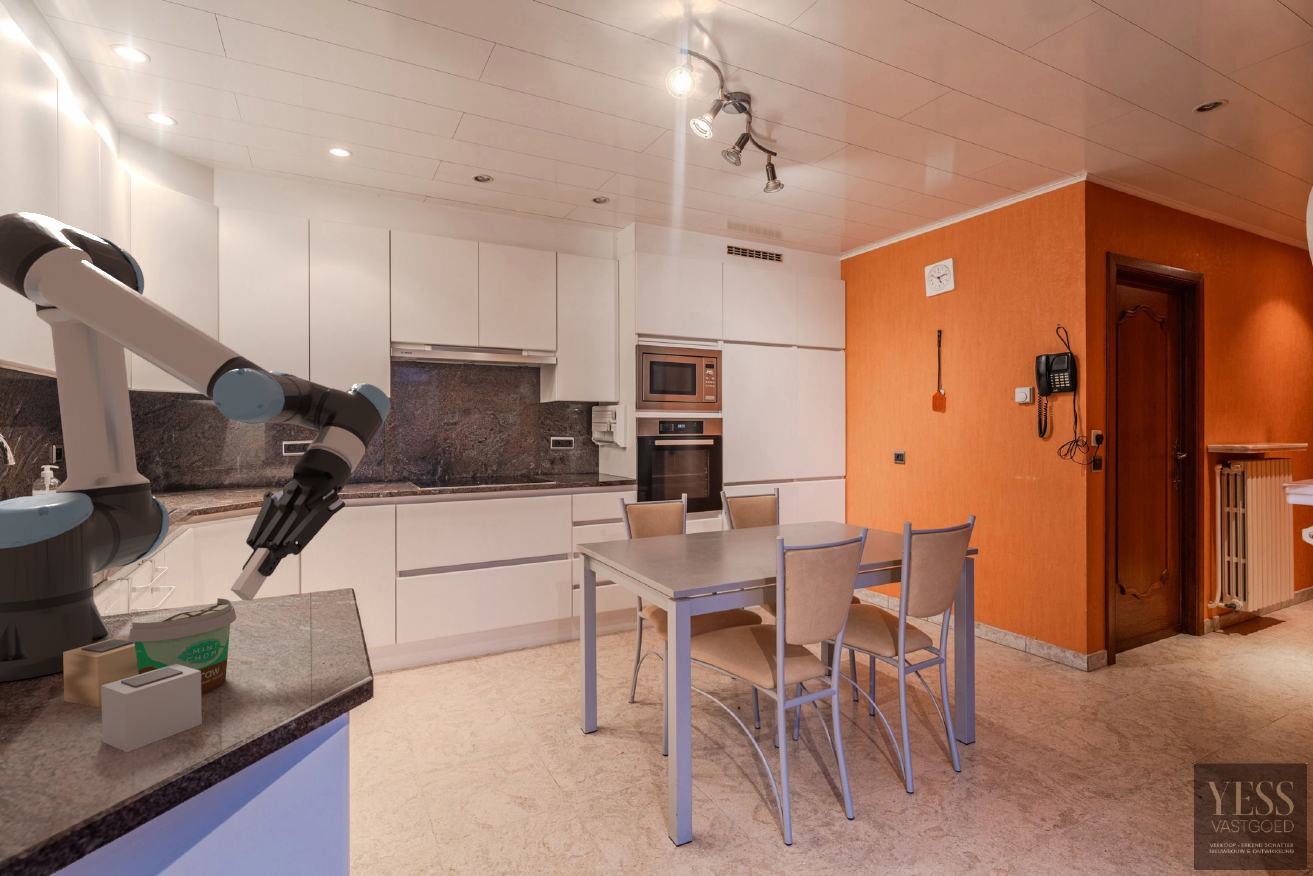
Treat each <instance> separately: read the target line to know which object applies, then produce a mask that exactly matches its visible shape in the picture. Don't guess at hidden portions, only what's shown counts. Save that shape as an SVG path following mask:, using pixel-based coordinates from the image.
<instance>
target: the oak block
mask: <svg viewBox="0 0 1313 876" xmlns="http://www.w3.org/2000/svg"><path fill="white" fill-rule="evenodd" d="M128 639H129V637H120V636H116V637H112V638H110V639H108V640H105V641H101V642H98V643H94V644H91V645H87V646H84V647H80V648H77V649H73V650H69V651H66V652H63V665H64V671H63V698H64V699H63V700H64V702H68V703H74V704H80V705H84V706H85V705H87V706H91V707H98V708H99V707H102V695H101V685H105V684H108V683H112V682H115V681H119V680H122V679H125V678H129V677H132V676H136V675H139V673H138V665H137V658H136V650H135V643H134V642H133V641H128Z"/></svg>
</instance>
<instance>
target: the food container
mask: <svg viewBox="0 0 1313 876" xmlns="http://www.w3.org/2000/svg"><path fill="white" fill-rule="evenodd" d="M236 620H237V614H236V611H235V607H234V605H233V604H232V601H231V600H229V599H227V598H221V597H220V598H217V602H216V605H212V606H209V607H208V608H203V609H200V610H193V611H187V612H186V611H184V612H180V613H177V614H175V615H172V616H170V617H168V618H165V619H164V620H160V621H154V622H132V625H131V627H132V628H130V630H129V636H128V638H129V639H128V641H133V642H134V643H135V650H136V658H137V665H138V673H139V674H143V673H146V672H150V671H153V670H157V669H160V668H163V667H167V666H170V665H174V664H179V665H182V666H186V667H189V668H192V669H196V670H199V671H201V696H204V695H206V694H209V693H211V692H214V691H216V690H218V689H220V688H221V687H222V686H223V685H224V684H225V683H226V681H227V670H228V669H227V668H228V667H227V666H228V657H229V656H228V655H229V644H230V630H231V629H230V628H231V624H232V623H234V622H235V621H236Z"/></svg>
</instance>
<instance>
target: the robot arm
mask: <svg viewBox="0 0 1313 876" xmlns="http://www.w3.org/2000/svg"><path fill="white" fill-rule="evenodd" d="M0 284H1V285H3V286H4V287H6V288H8V289H10V290H11V291H14V292H15V293H17V294H18V295H20V296H22V297H24V298H26V299H27V300H29V301H31V302H32V303H34V305H35V311H36V312H35V313H36V316H37V317H38V318H39V319H40V320H42V321H43V322H45V323H46V324H48V326H50V328H51V329H50V330H51V338H52V347H53V355H54V366H55V373H56V382H57V383H56V384H57V392H58V402H59V412H60V420H61V429H62V440H63V447H64V457H65V458H64V459H65V465H66V467H65V468H66V474H67V475H66V476H67V477H66V479H65V480H64V481H63V483H61V484H60V485H59V486H58V487H57V488H56V489H55V492H54V493H51V492H50V493H41V494H36V495H35V494H34V495H31V496H19V497H14V498H10V499H5V500H1V501H0V683H1V682H11V681H18V680H26V679H32V678H37V677H41V676H46V675H51V674H55V673H60V672H64V665H63V652H66V651H69V650H73V649H77V648H80V647H84V646H87V645H91V644H94V643H98V642H101V641H105V640H108V639H111V635H110V632H109V630H108V627H107V625H106V624H105V622H104V620H103V617H102V616H101V614H100V611H99V608H98V606H97V605H96V603H95V597H94V574H96V573H100V572H104V571H106V570H110V569H113V568H118V567H126V566H129V565H131V564H134V563H136V562H138V561H139V560H142V559H145V558H146V557H148V556H150V555H151V554H153V553H155V552H156V550H157V549H158V548H159V547H161V546H162V544H163V543H164V541H165V540H166V537H167V536H168V534H169V530H170V521H171V520H170V514H169V512H168V509H167V507H166V506H165V504H164V503H163V502H162V501H160V500H159V499H158V497H157V496H155V495H152V490H151V481H150V479H148V478H146V477H145V476H144V475H142V474H141V473H139V471H138V469H137V458H136V450H135V448H136V447H135V441H134V430H133V421H132V420H133V419H132V412H131V402H130V394H129V393H130V392H129V384H128V375H127V365H126V355H125V349H127V350H128V351H130V352H131V353H132V354H135V355H136V356H137V357H139V358H141V359H143V360H144V361H146V362H148V363H150V364H152V365H153V366H155V367H157V368H158V369H160V370H162V371H163V372H164V373H167V374H169V375H170V376H172V377H174V378H175V379H177V380H178V381H180V382H181V383H183V384H185V385H187V386H188V387H190V388H192V389H194V390H195V391H197V392H199V393H201V394H202V395H204V396H205V397H207V398H209V399H211V400H212V401H213V402H214V404H215V406H216V408H217V409H218V410H219V412H220V413H221V414H222V415H223V416H225V417H226V418H228V419H230V420H233V421H236V422H241V423H244V424H249V425H250V424H252V425H254V424H255V425H256V424H290V425H291V424H292V425H297V426H300V427H304V428H307V429H311V430H313V431H317V432H318V433H317V434H316V435H315V436H314V438H313V440H311V442H310V444H308V447H307V449H306V451H305V452H304V453H303V454H302V455H301V457H300V458H299V459H298V461H297V462H296V463H295V465H294V467H293V470H292V471H293V475H292V478H291V480H290V481H289V482H287V484H285V485H284V487H283V489H282V490H280V491H278V492H275V493H273V491H271V490H269V491H267V492H265V493H264V494H263V499H262V501H263V503H262V505H261V508H260V510H259V512H258V514H257V516H256V519H255V521H254V523H253V525H252V528H251V529H250V532H249V534H248V536H247V538H246V541H245V543H246V544H247V545H248V546H249V548H251V549H252V550H253V551H252V553H251V554H250V556H249V557H248V559H247V560H245V561H246V562H245V563H244V564H243V566H242V572H241V573H240V575H238V577H237V578H236V580H235V582H234V583H233V585H232V586H231V587H230V589H229V591H231V592H233V594H235V595H236V596H237V597H239V598H240V599H241V600H242V601H253V600H254V598H255V596H256V595H257V594H258V592H259V590H260V589H261V588H262V586H263V584H264V583H265V581H266V579H267V578H268V577H270V576H272V574H273V573H274V571H275V570H276V569H277V568H278V566H279V564H280V562H281V561H282V559H285V558H286V557H287V556H289V555H291V554H292V555H293V556H297V555H299V554H300V553H301V552H302V551H303V550H304V549H305V548H306V547H307V546H308V545H309V543H310V542H311V541H312V540H313V539H314V537H315V536H316V535H317V534H318V533H319V532H320V531H321V530H322V529H323V527H324V526H325V525H326V524H327V523H328V522H329V521H330V519H331V518H332V517H333V516H334V515H335V514H337V513H338V512H339V511H341V510H342V509H343V508H344V507H346V503H345V501H344V500H343V499H342V498H341V496H340V495H339V493H341V491H343V489H344V487H345V485H347V483H348V482H349V479H350V477H351V476H352V473H353V472H354V471H355V469H356V468H357V466H358V465H359V463H360V462H361V460H362V458H363V457H364V455H365V454H366V453H367V450H368V448H369V447H370V445H371V444H372V442H373V441H374V440H375V438H376V436H377V435H378V433H379V432H380V430H381V429H382V428H383V426H384V423H385V421H386V419H387V418H388V416H389V414H390V412H391V408H392V405H391V404H392V403H391V401H390V399H389V397H388V395H387V394H386V393H385V392H384V391H383V390H382V389H381V388H379V387H377V386H375V385H373V384H371V383H366V382H364V383H354V384H353V385H351V387H349V389H347V390H346V391H344V390H341V389H336V388H330V387H328V386H325V385H323V384H320V383H316V382H314V381H310V380H308V379H303V378H301V377H298V376H296V375H293V374H288V373H286V372H285V373H284V372H279V371H276V370H272V371H268V370H266V369H264V368H263V367H261V366H260V365H258V364H256V363H254V362H253V361H251V360H249V359H247V357H245V356H243V355H242V354H240V353H238V352H236V351H235V350H233V349H232V348H230V347H229V346H227V345H225V344H223V343H221V342H220V341H218V340H217V339H215V338H214V337H212V336H210V335H208V334H207V333H206V332H204V331H202V330H200V329H199V328H197V327H195V326H194V325H192V324H190V322H187V321H186V320H184V319H183V318H180V317H179V316H177V315H176V314H174V313H173V312H170V310H168V309H166V308H164V307H162V306H161V305H159V304H158V303H156V302H154V301H153V300H152V299H150V298H148V297H147V296H145V295H143V294H144V289H145V278H144V274H143V271H142V268H141V266H140V265H139V263H138V262H137V260H136V259H135V258H134V257H133V256H132V255H131V254H130V253H129V252H128V251H127V250H125V249H124V248H122V247H121V246H119V245H116V244H115V243H114V242H112V241H111V240H109V239H107V238H104V237H102V236H99V235H95V234H91V233H88V232H85V231H83V230H80V229H78V228H76V227H72V226H70V225H68V224H66V223H63V222H61V221H59V220H56V219H54V218H51V217H48V216H45V215H42V214H37V213H31V212H30V213H29V212H13V213H7V214H3V215H0Z"/></svg>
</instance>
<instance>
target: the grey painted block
mask: <svg viewBox="0 0 1313 876" xmlns="http://www.w3.org/2000/svg"><path fill="white" fill-rule="evenodd" d="M101 695H102V706H101V735H102V736H101V738H102V741H101V742H102V743H104V744H107V745H109V746H111V747H113V748H115V749H116V750H120V751H122V750H123V751H122V752H124V753H128V752H131V751H130V750H132V751H134V750H136V749H139V747H140V748H142V747H144V746H148V745H150V744H152V743H155V742H158V741H160V740H163V739H166V738H168V737H171V736H175V735H176V734H179V733H182V732H184V731H187V730H190V729H193V728H195V727H198V726H200V725H203V722H202V721H203V720H202V717H203V715H202V714H203V713H202V710H203V709H202V695H201V671H199V670H196V669H192V668H189V667H186V666H182V665H179V664H174V665H170V666H167V667H163V668H160V669H157V670H153V671H150V672H146V673H143V674H139V675H136V676H132V677H129V678H125V679H122V680H119V681H115V682H112V683H108V684H105V685H101ZM147 744H148V745H147Z"/></svg>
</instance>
